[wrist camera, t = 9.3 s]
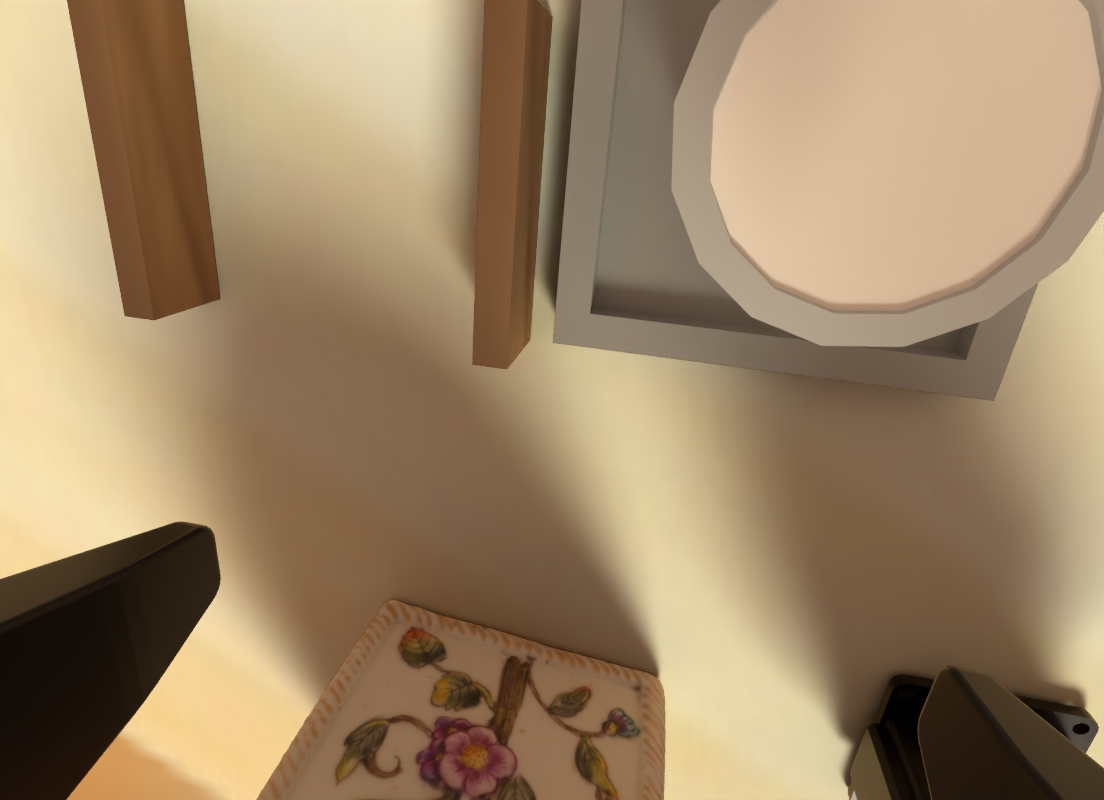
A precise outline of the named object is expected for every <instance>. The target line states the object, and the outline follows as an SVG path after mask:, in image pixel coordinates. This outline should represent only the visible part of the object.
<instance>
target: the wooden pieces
mask: <svg viewBox="0 0 1104 800" xmlns="http://www.w3.org/2000/svg"><path fill="white" fill-rule="evenodd" d="M67 3H68V8H69V14H70V19H71V25H72V30H73V36H74V41H75V47H76V52H77V57H78V63H79V68H80V74H81V79H82V85H83V90H84V96H85V101H86V107H87V112H88V118H89V123H90V128H91V134H92V139H93V145H94V150H95V156H96V161H97V167H98V172H99V178H100V183H101V189H102V194H103V200H104V205H105V210H106V216H107V221H108V227H109V232H110V238H111V243H112V249H113V254H114V260H115V265H116V271H117V276H118V281H119V287H120V292H121V298H122V303H123V309H124V314H125V316H128V317H135V318H142V319H149V320H156V319H159V318H162V317H166V316H169V315H172V314H175V313H178V312H181V311H184V310H187V309H191V308H194V307H197V306H200V305H203V304H206V303H209V302H212V301H215V300H219V299H220V294H219V286H218V278H217V270H216V262H215V253H214V245H213V237H212V229H211V221H210V213H209V205H208V196H207V188H206V180H205V172H204V164H203V156H202V147H201V139H200V131H199V123H198V115H197V107H196V99H195V90H194V82H193V74H192V66H191V58H190V50H189V42H188V33H187V25H186V17H185V9H184V1H183V0H67ZM551 31H552V16H551V15H550V14H549V13H548V12H547V11H546V10H545V9H544V8H543V7H542V6H541V5H540V3H539V2H538V1H537V0H485V4H484V33H483V63H482V93H481V123H480V153H479V183H478V213H477V242H476V272H475V302H474V332H473V362H472V364H473V365H480V366H487V367H494V368H501V369H508V367H509V366H510V365H511V364H512V362H513V361H514V360H515V358H516V357H517V356H518V355H519V353H520V352H521V351H522V349H523V348H524V347H525V346H526V344H527V343H528V342H529V341H530V334H531V319H532V305H533V290H534V276H535V261H536V247H537V233H538V218H539V204H540V189H541V175H542V160H543V146H544V132H545V117H546V103H547V88H548V74H549V59H550V45H551Z"/></svg>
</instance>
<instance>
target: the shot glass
mask: <svg viewBox="0 0 1104 800" xmlns="http://www.w3.org/2000/svg"><path fill="white" fill-rule="evenodd" d="M671 190H672V193H673V196H674V198H675V201H676V204H677V206H678V209H679V212H680V214H681V217H682V220H683V222H684V225H685V228H686V230H687V233H688V236H689V238H690V241H691V244H692V246H693V249H694V252H695V254H696V257H697V260H698V263H699V264H700V265H701V266H702V267H703V268H704V269H705V270H706V271H707V272H708V273H709V274H710V275H711V276H712V277H713V278H714V279H715V280H716V282H717V283H718V284H719V285H720V286H721V287H722V288H723V289H724V290H725V291H726V292H727V293H728V294H729V295H730V296H731V297H732V298H733V299H734V300H735V301H736V302H737V303H738V304H739V305H740V306H741V307H742V308H743V309H744V310H745V311H746V312H747V313H748V314H749V315H750V316H751V317H753V318H755V319H757V320H760V321H762V322H765V323H767V324H770V325H772V326H774V327H777V328H779V329H782V330H784V331H787V332H789V333H792V334H794V335H796V336H799V337H801V338H804V339H806V340H809V341H811V342H813V343H816V344H818V345H821V346H871V347H905V346H908V345H911V344H914V343H917V342H920V341H923V340H926V339H929V338H932V337H935V336H938V335H941V334H944V333H947V332H950V331H953V330H956V329H959V328H962V327H965V326H968V325H971V324H974V323H977V322H980V321H983V320H986V319H989V318H990V317H992V316H993V315H995V314H996V313H997V312H999V311H1000V310H1001V309H1003V308H1004V307H1005V306H1007V305H1008V304H1010V303H1011V302H1012V301H1014V300H1015V299H1016V298H1018V297H1019V296H1020V295H1022V294H1023V293H1025V292H1026V291H1027V290H1029V289H1030V288H1031V287H1033V286H1034V285H1035V284H1037V283H1038V282H1040V281H1041V280H1042V279H1044V278H1045V277H1046V276H1048V275H1049V274H1050V273H1052V272H1053V271H1055V270H1056V269H1057V268H1059V267H1060V266H1061V265H1063V264H1064V263H1066V262H1067V261H1068V260H1069V259H1070V257H1071V256H1072V254H1073V253H1074V252H1075V250H1076V249H1077V247H1078V246H1079V245H1080V243H1081V242H1082V240H1083V239H1084V238H1085V236H1086V235H1087V233H1088V232H1089V231H1090V229H1091V228H1092V226H1093V225H1094V224H1095V222H1096V221H1097V220H1098V218H1099V217H1100V215H1101V214H1102V213H1103V211H1104V0H721V1H720V2H719V3H718V4H717V5H716V6H715V8H714V9H713V10H712V11H711V13H710V15H709V17H708V20H707V22H706V25H705V27H704V30H703V32H702V35H701V37H700V40H699V42H698V45H697V47H696V50H695V52H694V55H693V57H692V59H691V62H690V64H689V67H688V69H687V72H686V74H685V77H684V79H683V82H682V84H681V87H680V89H679V92H678V94H677V97H676V99H675V101H674V118H673V151H672V184H671Z"/></svg>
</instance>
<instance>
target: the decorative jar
mask: <svg viewBox="0 0 1104 800" xmlns="http://www.w3.org/2000/svg"><path fill="white" fill-rule="evenodd" d="M664 777H665V696H664V690H663V686H662V684H661V682H660V680H659V679H658V678H657V677H655V676H653V675H651V674H649V673H647V672H643V671H639V670H635V669H631V668H627V667H623V666H620V665H616V664H612V663H609V662H605V661H601V660H598V659H595V658H591V657H587V656H583V655H578V654H575V653H572V652H567V651H563V650H559V649H555V648H552V647H548V646H545V645H542V644H540V643H537V642H535V641H532V640H527V639H524V638H521V637H518V636H515V635H511V634H508V633H504V632H501V631H498V630H494V629H490V628H487V627H483V626H479V625H476V624H473V623H469V622H465V621H460V620H457V619H453V618H449V617H445V616H442V615H439V614H436V613H433V612H430V611H428V610H426V609H423V608H420V607H416V606H411V605H407V604H405V603H403V602H400V601H397V600H390V601H387V602H385V603H384V604H383V606H382V608H381V609H380V611H379V613H378V614H377V616H376V617H375V618H374V619H373V621H372V622H371V624H370V625H369V626H368V628H367V630H366V631H365V632H364V634H363V635H362V637H361V638H360V639H359V641H358V642H357V643H356V645H355V646H354V648H353V649H352V651H351V653H350V654H349V655H348V657H347V659H346V660H345V661H344V663H343V664H342V666H341V668H340V669H339V671H338V672H337V674H336V675H335V677H334V678H333V679H332V681H331V682H330V684H329V686H328V687H327V689H326V691H325V693H324V694H323V695H322V696H321V697H320V699H319V701H318V703H317V704H316V705H315V706H314V708H313V710H312V712H311V714H310V715H309V716H308V717H307V718H306V720H305V722H304V724H303V726H302V727H301V729H300V730H299V732H298V733H297V735H296V737H295V738H294V740H293V741H292V743H291V744H290V746H289V748H288V750H287V751H286V753H285V754H284V755H283V757H282V759H281V761H280V763H279V765H278V766H277V767H276V769H275V770H274V772H273V773H272V775H271V777H270V778H269V780H268V782H267V783H266V785H265V787H264V788H263V789H262V791H261V792H260V794H259V796H258V798H257V800H664Z"/></svg>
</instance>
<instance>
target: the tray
mask: <svg viewBox="0 0 1104 800" xmlns="http://www.w3.org/2000/svg"><path fill="white" fill-rule="evenodd" d="M720 1H721V0H581V12H580V24H579V36H578V48H577V60H576V72H575V84H574V96H573V108H572V119H571V131H570V143H569V155H568V167H567V179H566V191H565V203H564V215H563V227H562V239H561V251H560V263H559V275H558V287H557V299H556V311H555V322H554V334H553V343H558V344H566V345H574V346H581V347H589V348H596V349H604V350H612V351H619V352H627V353H634V354H642V355H649V356H657V357H665V358H672V359H680V360H687V361H695V362H703V363H710V364H718V365H725V366H733V367H741V368H748V369H756V370H763V371H771V372H779V373H786V374H794V375H801V376H809V377H817V378H824V379H832V380H839V381H847V382H854V383H862V384H870V385H877V386H885V387H892V388H900V389H908V390H915V391H923V392H930V393H938V394H946V395H953V396H961V397H968V398H976V399H984V400H991V401H994V399H995V396H996V394H997V391H998V388H999V386H1000V383H1001V380H1002V378H1003V375H1004V372H1005V370H1006V367H1007V364H1008V362H1009V359H1010V356H1011V354H1012V351H1013V348H1014V346H1015V343H1016V340H1017V338H1018V335H1019V332H1020V330H1021V327H1022V324H1023V322H1024V319H1025V316H1026V314H1027V311H1028V308H1029V306H1030V303H1031V300H1032V298H1033V295H1034V292H1035V290H1036V287H1037V284H1038V283H1037V284H1035V285H1034V286H1033V287H1031V288H1030V289H1029V290H1027V291H1026V292H1025V293H1023V294H1022V295H1020V296H1019V297H1018V298H1016V299H1015V300H1014V301H1012V302H1011V303H1010V304H1008V305H1007V306H1005V307H1004V308H1003V309H1001V310H1000V311H999V312H997V313H996V314H995V315H993V316H992V317H990V318H989V319H986V320H983V321H980V322H977V323H974V324H971V325H968V326H965V327H962V328H959V329H956V330H953V331H950V332H947V333H944V334H941V335H938V336H935V337H932V338H929V339H926V340H923V341H920V342H917V343H914V344H911V345H908V346H905V347H871V346H821V345H818V344H816V343H813V342H811V341H809V340H806V339H804V338H801V337H799V336H796V335H794V334H792V333H789V332H787V331H784V330H782V329H779V328H777V327H774V326H772V325H770V324H767V323H765V322H762V321H760V320H757V319H755V318H753V317H751V316H750V315H749V314H748V313H747V312H746V311H745V310H744V309H743V308H742V307H741V306H740V305H739V304H738V303H737V302H736V301H735V300H734V299H733V298H732V297H731V296H730V295H729V294H728V293H727V292H726V291H725V290H724V289H723V288H722V287H721V286H720V285H719V284H718V283H717V282H716V280H715V279H714V278H713V277H712V276H711V275H710V274H709V273H708V272H707V271H706V270H705V269H704V268H703V267H702V266H701V265H700V264H699V263H698V260H697V257H696V254H695V252H694V249H693V246H692V244H691V241H690V238H689V236H688V233H687V230H686V228H685V225H684V222H683V220H682V217H681V214H680V212H679V209H678V206H677V204H676V201H675V198H674V196H673V193H672V190H671V184H672V151H673V118H674V101H675V99H676V97H677V94H678V92H679V89H680V87H681V84H682V82H683V79H684V77H685V74H686V72H687V69H688V67H689V64H690V62H691V59H692V57H693V55H694V52H695V50H696V47H697V45H698V42H699V40H700V37H701V35H702V32H703V30H704V27H705V25H706V22H707V20H708V17H709V15H710V13H711V11H712V10H713V9H714V8H715V6H716V5H717V4H718V3H719V2H720Z"/></svg>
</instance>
